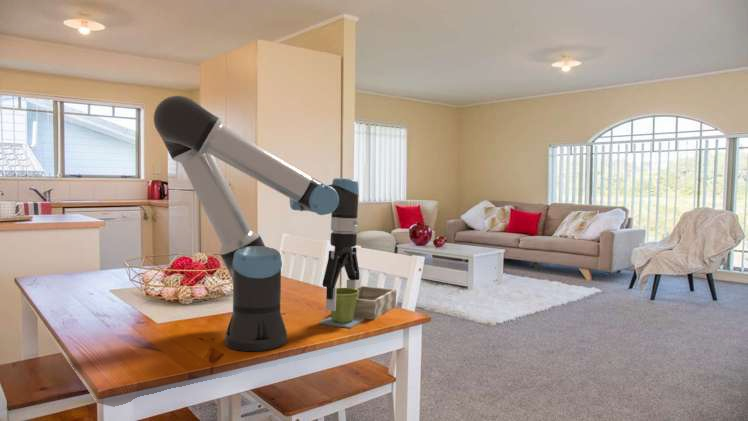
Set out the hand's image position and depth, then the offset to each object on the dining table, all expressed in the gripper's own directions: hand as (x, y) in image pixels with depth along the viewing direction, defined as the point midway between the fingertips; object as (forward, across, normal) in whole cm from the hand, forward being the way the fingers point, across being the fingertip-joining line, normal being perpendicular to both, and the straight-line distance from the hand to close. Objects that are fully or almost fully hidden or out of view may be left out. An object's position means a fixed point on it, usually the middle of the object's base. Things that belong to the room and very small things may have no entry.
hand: (341, 305), depth 153 cm
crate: (+4, +17, -1) cm, 17 cm away
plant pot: (+5, 0, 0) cm, 5 cm away
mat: (+5, +1, 0) cm, 5 cm away
